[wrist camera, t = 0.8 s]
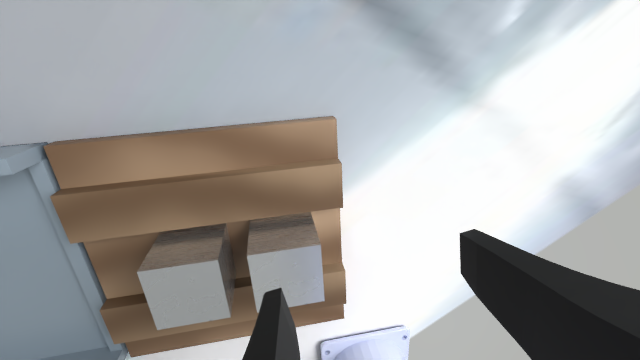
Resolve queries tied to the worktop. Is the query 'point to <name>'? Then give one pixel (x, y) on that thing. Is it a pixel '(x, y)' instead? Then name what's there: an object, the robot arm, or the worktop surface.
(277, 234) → the chip
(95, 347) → the tray
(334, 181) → the slot board
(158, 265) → the chip
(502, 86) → the worktop surface
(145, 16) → the worktop surface
